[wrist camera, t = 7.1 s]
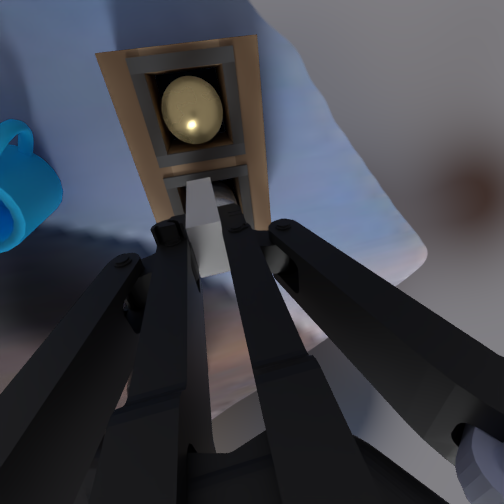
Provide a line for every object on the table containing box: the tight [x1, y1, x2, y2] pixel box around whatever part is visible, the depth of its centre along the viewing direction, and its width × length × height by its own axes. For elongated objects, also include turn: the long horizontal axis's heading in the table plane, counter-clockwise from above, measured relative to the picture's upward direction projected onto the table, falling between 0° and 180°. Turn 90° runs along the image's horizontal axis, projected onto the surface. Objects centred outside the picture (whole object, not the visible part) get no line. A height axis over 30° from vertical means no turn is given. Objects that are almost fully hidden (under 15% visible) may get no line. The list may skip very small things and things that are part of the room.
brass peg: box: [161, 76, 223, 144], centre depth 24 cm, size 5×5×7 cm
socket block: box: [95, 34, 271, 230], centre depth 27 cm, size 12×18×7 cm, turn 6°
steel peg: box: [211, 181, 237, 206], centre depth 25 cm, size 5×5×7 cm
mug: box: [0, 119, 63, 253], centre depth 24 cm, size 12×8×8 cm
